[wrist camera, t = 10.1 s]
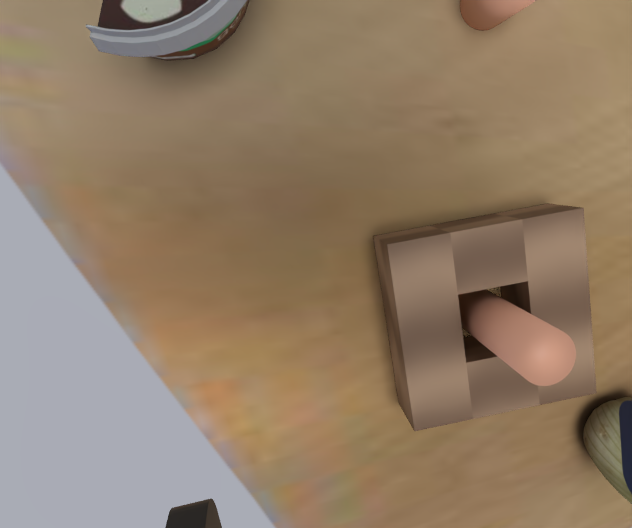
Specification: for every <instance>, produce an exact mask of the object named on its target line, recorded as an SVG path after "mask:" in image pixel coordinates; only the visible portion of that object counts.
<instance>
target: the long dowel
mask: <svg viewBox="0 0 632 528" xmlns="http://www.w3.org/2000/svg"><path fill="white" fill-rule="evenodd" d="M458 300H459V308H460V316H461V324H462V328H463V329H464V330H466V331H467V332H468V333H469V334H471V335H472V336H473V337H474V338H476V339H477V340H478V341H479V342H480V343H482V344H483V345H484V346H485V347H487V348H488V349H489V350H490V351H492V352H493V353H494V354H495V355H497V356H498V357H499V358H500V359H502V360H503V361H504V362H505V363H506V364H508V365H509V366H510V367H511V368H513V369H514V370H515V371H516V372H518V373H519V374H520V375H521V376H523V377H524V378H525V379H526V380H527V381H529V382H530V383H532V384H535V385H538V386H550V385H553V384H556V383H558V382H560V381H561V380H563V379H564V378H565V377H566V376H567V375H568V374H569V373H570V371H571V370H572V368H573V366H574V364H575V360H576V348H575V344H574V342H573V340H572V339H571V338H570V336H569V335H567V334H566V333H565V332H563V331H561V330H559V329H558V328H556V327H554V326H552V325H550V324H548V323H547V322H545V321H543V320H541V319H539V318H537V317H536V316H534V315H532V314H530V313H528V312H526V311H525V310H523V309H521V308H519V307H517V306H515V305H514V304H512V303H510V302H508V301H506V300H504V299H503V298H501V297H499V296H497V295H495V294H493V293H492V292H490V291H488V290H486V289H485V290H480V291H474V292H469V293H464V294H459V295H458Z"/></svg>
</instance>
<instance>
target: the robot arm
mask: <svg viewBox="0 0 632 528" xmlns="http://www.w3.org/2000/svg"><path fill="white" fill-rule="evenodd" d="M619 423H620V439H621V455H622V470H623V475H624V479H625V482H626V484H627V487H628V489H629V491H630V492H631V494H632V399H631V400H627V401H624V402H622V404H621V405H620V408H619ZM166 528H222V526H221V523H220V519H219V516H218V512H217V508H216V505H215V503H214V501H213V499H208V500H204V501H199V502H195V503H191V504H187V505H183V506H179V507H174V508H172V509H171V510H170V512H169V516H168V520H167V524H166Z"/></svg>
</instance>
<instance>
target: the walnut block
mask: <svg viewBox="0 0 632 528" xmlns="http://www.w3.org/2000/svg"><path fill="white" fill-rule="evenodd" d="M373 237H374V244H375V251H376V257H377V264H378V270H379V277H380V284H381V290H382V297H383V303H384V310H385V317H386V323H387V330H388V336H389V343H390V350H391V356H392V363H393V369H394V376H395V382H396V389H397V396H398V402H399V404H400V406H401V408H402V410H403V412H404V413H405V415H406V417H407V419H408V420H409V422H410V424H411V426H412V428H413V429H414V431H418V430H423V429H427V428H432V427H437V426H442V425H447V424H451V423H456V422H461V421H466V420H470V419H475V418H480V417H485V416H490V415H494V414H499V413H504V412H509V411H513V410H518V409H523V408H528V407H532V406H537V405H542V404H547V403H552V402H556V401H561V400H566V399H571V398H575V397H580V396H585V395H590V394H594V393H596V379H595V365H594V351H593V337H592V323H591V308H590V294H589V280H588V266H587V251H586V237H585V223H584V209H583V208H580V207H572V206H563V205H555V204H543V205H537V206H532V207H527V208H521V209H516V210H510V211H505V212H500V213H494V214H489V215H483V216H478V217H473V218H467V219H462V220H456V221H451V222H446V223H440V224H435V225H430V226H424V227H419V228H413V229H408V230H403V231H397V232H392V233H386V234H381V235H376V236H373ZM500 286H501V294H502V298H503V299H504V300H506V301H508V302H510V303H512V304H514V305H515V306H517V307H519V308H521V309H523V310H525V311H526V312H528V313H530V314H532V315H534V316H536V317H537V318H539V319H541V320H543V321H545V322H547V323H548V324H550V325H552V326H554V327H556V328H558V329H559V330H561V331H563V332H565V333H566V334H567V335H569V336H570V338H571V339H572V340H573V342H574V344H575V348H576V360H575V364H574V366H573V368H572V370H571V371H570V373H569V374H568V375H567V376H566V377H565V378H564V379H563V380H561V381H560V382H558V383H556V384H553V385H550V386H538V385H535V384H532V383H530V382H529V381H527V380H526V379H525V378H524V377H523V376H521V375H520V374H519V373H518V372H516V371H515V370H514V369H513V368H511V367H510V366H509V365H508V364H506V363H505V362H504V361H503V360H502V359H500V358H499V357H498V356H497V355H495V354H494V353H493V352H492V351H490V350H489V349H488V348H487V347H485V346H484V345H483V344H482V343H480V342H479V341H478V340H477V339H476V338H474V337H473V336H470V337H465V338H463V333H462V324H461V316H460V308H459V300H458V295H459V294H464V293H469V292H474V291H480V290H485V289H490V288H495V287H500Z"/></svg>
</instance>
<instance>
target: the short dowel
mask: <svg viewBox="0 0 632 528" xmlns="http://www.w3.org/2000/svg"><path fill="white" fill-rule="evenodd" d="M535 1H536V0H461V1H460V10H461V14H462V17H463V19H464V20H465V22H466V23H467V24H468V25H469V26H470V27H472V28H474V29H477V30H489V29H492V28H494V27H495V26H497V25H498V24H500V23H502V22H503V21H505V20H506V19H508V18H510V17H511V16H513V15H514V14H516V13H517V12H519V11H521V10H522V9H524V8H525V7H527V6H529V5H530V4H532V3H533V2H535Z"/></svg>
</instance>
